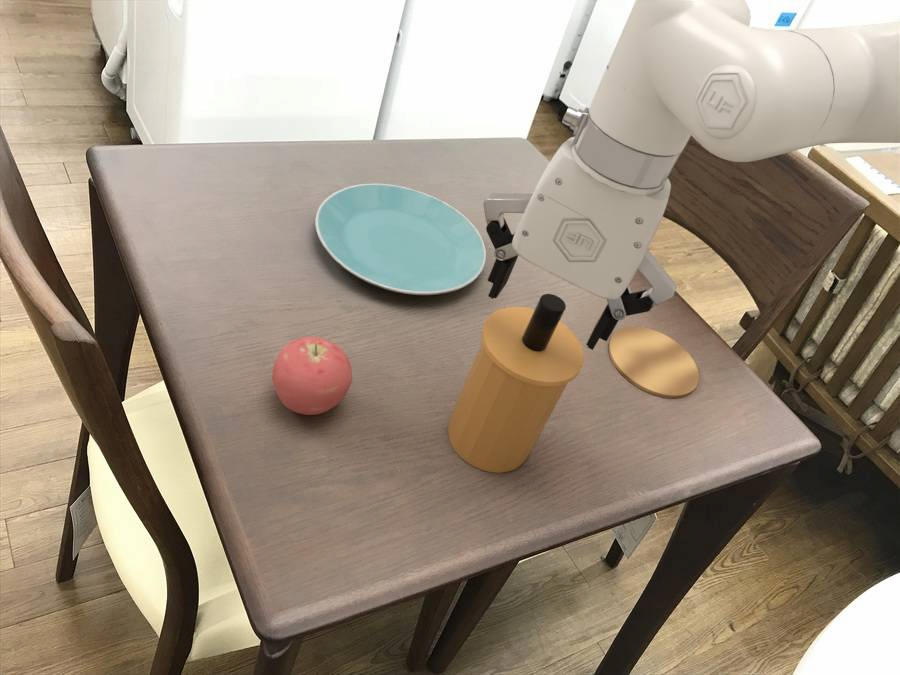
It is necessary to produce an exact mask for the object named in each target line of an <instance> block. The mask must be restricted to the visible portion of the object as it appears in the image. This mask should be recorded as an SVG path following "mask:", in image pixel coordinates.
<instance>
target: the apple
mask: <svg viewBox="0 0 900 675" xmlns="http://www.w3.org/2000/svg"><path fill="white" fill-rule="evenodd" d="M271 374H272V376H271V378H272V384H273V387H274V389H275V392H276V395H277V396H278V398H279V400H280V402H281V403H282V404H283V405H284V407H286V408H287V409H289V410H290V411H293V412H294V413H297V414H300V415H307V416H315V415H320V414H323V413H326V412H328V411H329V410H332V408H334V407H335V406H337V405H338V404H339V403H340V402H341V401H342V400H343V398H345V396H346V395H347V394H348V391H349V390H350V387H351V385H352V382H353V368H352V365H351V362H350V360H349V357H348V355H347V354H346V353H345V351H344V349H342V348H341V347H340V346H338V345H337V344H336V343H334V342H333V341H331V340H329V339H325V338H322V337H319V336H302V337H298V338H296V339H293V340H292V341H290V342H288V343H286V344H285V346H283V348H282V349H281V350H280V351H279V352H278V354H277V356H276V358H275V360H274V363H273V366H272V373H271Z"/></svg>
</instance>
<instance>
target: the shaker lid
mask: <svg viewBox="0 0 900 675" xmlns="http://www.w3.org/2000/svg"><path fill="white" fill-rule="evenodd" d="M566 308H567V306H566V303H565V301H564V300H563V299H562V298H561V297H559V296H558V295H555V294H554V293H553V294H552V293H544V294H542V295H541V296H540V297H539V300H538V302H537V304H536V306H535V308H534V309H533V308H531V307H524V306H507V307H503V308H499V309H498V310H495V311H493V312H492V313H491V314H490V315H489V316H488V317H487V318H486V319H485V321H484V324H483V326H482V329H481V343H483V346H484V348H485V350H486V352H487V354H488V355H489V357H490V358H491V359H492V361H493V362H494V363H495V364H496V365H497V366H498V367H500V368H501V369H502V370H503V371H505V372H506V373H508V374H509V375H511V376H513V377H515V378H517V379H519V380H521V381H523V382H526V383H530V384H534V385H538V386H559V385H563V384H566V383H570V382H572V381H573V380H574V379H575V378H577V377H578V375H579V374H580V372H581V370H582V369H583V366H584V362H585V360H584V359H585V355H584V354H585V353H584V350H583V346H582V344H581V342H580V341H579V339H578V337H577V336H576V335H575V333H574V332H573V331H572V330H571V329H570V328H569V327H568V326H567V325H565V323H563V322H562V321H561V319H562V317H563V315H564V312H565V311H566Z"/></svg>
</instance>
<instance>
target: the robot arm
mask: <svg viewBox="0 0 900 675" xmlns="http://www.w3.org/2000/svg"><path fill="white" fill-rule="evenodd" d="M751 17H752V16H751V10H750V8H749V5H748V3H747V1H746V0H634V4H633V6H632V8H631V11H630V13H629V15H628V17H627V19H626V22H625V23H624V24H625V25H624V26H623V28H622V31H621V33H620V36H619V38H618V41H617V43H616V45H615V47H614V49H613V52H612V54H611V57H610V59H609V61H608V63H607V66H606V68H605V70H604V72H603V75H602V77H601V79H600V82H599V84H598V86H597V89H596V91H595V93H594V95H593V98H592V100H591V102H590V104H589V107H585V109H584V110H583V109H580V108H578V109H577V108H574V107H572V106H568V108H567V110H566V111H565V113H564V116H563V118H562V119H561V120H562V121H561V124H563V125H565V126H567V127H569V129H570V130H573V133H572V136H571V137H569V138H568V139H567V140H566V141H564V142H563V143H562V144H561V145H560V147H559V148H558V149H557V151H555V153H554V155H553V157H552V158H551V159H550V161H549V163H548V165H547V166H546V168H545V169H544V171H543V173H542V175H541V177H540V179H539V181H538V183H537V185H536V186H535V189H534V190H533V193H499V192H497V193H494V192H493V193H490V194H489V195H488V196H487V197H486V199H485V200H483V210H484V217H485V221H486V228H485V231H486V233H487V235H488V237H489V240H490V241H491V243H492V246H493V248H494V251H493V255H494V258H495V260H494V263H493V266H492V268H491V270H490V272H489V275H488V278H487V282H489V283H491V284H492V285H491V288H490V289H489V293H488V295H487V297H488V298H490V299H492V300H494V299H497V298H498V297H499V295H500V294H501V293H502V291H503V289H504V288H505V287H506V285H507V283H508V281H509V280H510V276H511V274H512V271H513V270H514V267H515V265H516V262H517V260H518V258H519V257H520V258H521V259H523V260H525V261H526V262H528V263H530V264H532V265H533V266H536V267H537V268H539V269H541V270H543V271H545V272H547V273H549V274H551V275H553V276H554V277H557V278H559V279H561V280H563V281H565V282H567V283H569V284H570V285H573V286H575V287H577V288H579V289H580V290H583V291H585V292H587V293H590V294H591V295H593V296H596V297H598V298H601V299H605V300H606V301H607V304H606V306H605V308H604V309H603V311H602V313H601V315H600V316H599V318H598V320H597V322H596V324H595V325H594V328H593V330H592V332H591V334H590V335H589V338H588V340H587V342H586V344H585V345H586V346H587V349H589V350H591V351H593V350H594V349H595V347H596V345H597V344H598V342H599V340H600V339H601V340H603V341H605V342H607V341H608V340H609V338H610V337H611V336H612V333H613V331H614V330H615V328H616V326H617V324H618V323H619V321H622V320H624V319H625V318H626V317H628V316H633V315H638V314H643V313H648V312H651V310H652V308H654V307H657V306H659V305H661V304H663V303H665V302H667V301H668V300H670V299H672V298H674V295H675V292H676V290H677V284H676V282H675V281H674V280H673V279H672V277H671V276H670V275H669V273H668V272H667V270H665V268H664V267H663V266H662V265H661V264H660V262H659V261H658V260H657V259H656V258H655V256H654V255H653V253H652V252H651V251H650V250H649V248H650V246H651V244H652V242H653V240H654V238H655V236H656V234H657V231H658V229H659V226H660V224H661V222H662V219H663V216H664V215H665V211H666V208H667V206H668V203H669V198H670V196H671V189H672V183H671V181H670V179H669V176H671V173H672V171H673V169H674V167H675V165H676V164H677V162H678V160H679V158H680V156H681V155H682V153H683V151H684V149H685V147H686V146H687V144H688V142H689V140H690V138H691V137H692V138H693V139H694V140H695V141H696V142H697V143H698V144H699V145H700V146H701V147H702V148H704V149H705V150H706V151H708V152H709V153H710V154H712V155H714V156H715V157H718V158H720V159H722V160H726V161H729V162H733V163H734V162H735V163H749V162H757V161H760V160H764V159H768V158H769V159H770V158H772V157H777V156H781V155H784V154H788V153H791V152H795V151H799V150H803V149H806V148H810V147H816V146H822V145H827V144H828V145H829V144H862V143H863V144H900V21H891V22H881V23H871V24H861V25H849V26H836V27H835V26H833V27H822V28H821V27H819V28H793V29H792V28H791V29H771V28H763V27H755V26H750V24H751ZM505 214H522V216H521V218H520V220H519V222H518V224H517V227H516V229H515V231H514V232H511V228H510V227H509V225H508V223H507V221H506V218H504V217H505ZM637 271H639V274H641V275H642V276H643V278H644V279H645V280H646V282H648V284H649V285H650V286H651V287H650V288H649V289H643V290H640V291H639V290H638V291H635V292H632V290H631V286H630V284H631V282H632V280H633V279H634V277H635V275H636V273H637Z"/></svg>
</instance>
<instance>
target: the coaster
mask: <svg viewBox="0 0 900 675" xmlns="http://www.w3.org/2000/svg"><path fill="white" fill-rule="evenodd" d="M607 350H608V355H609V358H610V360H611V362H612V364H613V366H614V367H615V368H616V370H617V371H618V373H620V374H621V375H622V377H624V378H625V379H626V380H627V381H628V382H629V383H631V384H632V385H633V386H635V387H637V388H638V389H640V390H642V391H644V392H646V393H648V394H651V395H654V396H656V397H661V398H667V399H678V398H683V397H686V396H689V395H690V394H692V393H693V392H694V391H695V390H696V388H697V386H698V384H699V381H700V372H699V368H698V366H697V363H696V361H695V360H694V358H693V357H692V356H691V355H690V353H689V352H688V351H687V349H685V348H684V346H682V345H681V344H680V343H678V342H677V341H676V340H674V339H673V338H671V337H669V336H668V335H666V334H664V333H662V332H660V331H658V330H655V329H652V328H648V327H643V326H627V327H626V326H625V327H621V328H619V329H617V331H615V332H614V333H613V334H611V336H610V339H609V341H608V346H607Z"/></svg>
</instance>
